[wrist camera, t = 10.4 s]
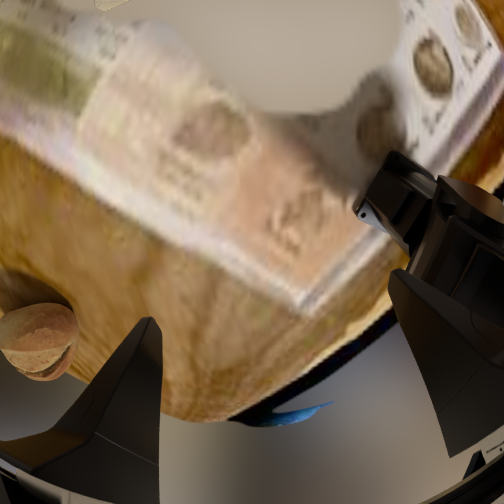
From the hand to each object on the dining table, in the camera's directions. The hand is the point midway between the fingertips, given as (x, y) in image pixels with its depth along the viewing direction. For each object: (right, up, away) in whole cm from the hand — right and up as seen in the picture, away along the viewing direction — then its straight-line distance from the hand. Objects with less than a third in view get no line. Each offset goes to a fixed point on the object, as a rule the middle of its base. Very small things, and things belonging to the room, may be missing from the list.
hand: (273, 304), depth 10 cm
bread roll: (-27, -7, +17) cm, 32 cm away
